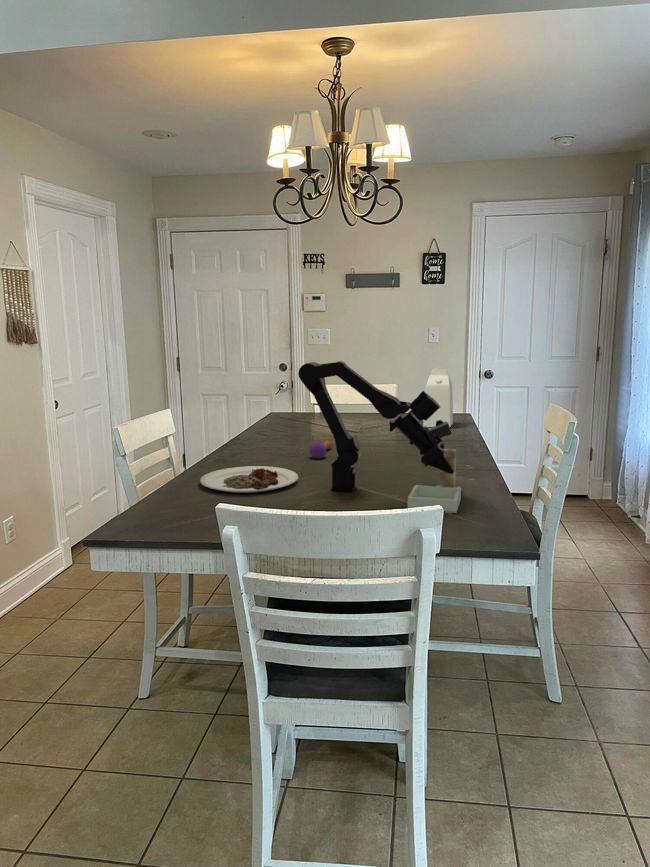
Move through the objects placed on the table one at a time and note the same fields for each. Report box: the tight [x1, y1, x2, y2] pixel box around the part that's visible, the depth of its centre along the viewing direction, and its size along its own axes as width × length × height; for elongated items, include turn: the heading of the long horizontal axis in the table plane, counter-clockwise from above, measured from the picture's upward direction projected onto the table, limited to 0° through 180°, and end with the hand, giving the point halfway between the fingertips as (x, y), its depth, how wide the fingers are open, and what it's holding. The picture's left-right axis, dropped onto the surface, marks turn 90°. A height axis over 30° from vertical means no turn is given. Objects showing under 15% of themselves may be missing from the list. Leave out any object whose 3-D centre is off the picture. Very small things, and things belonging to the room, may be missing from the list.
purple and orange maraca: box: [309, 440, 333, 460], centre depth 241 cm, size 6×6×20 cm
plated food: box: [199, 465, 299, 494], centre depth 201 cm, size 30×30×3 cm
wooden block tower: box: [436, 448, 462, 489], centre depth 186 cm, size 7×7×12 cm
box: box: [407, 484, 462, 514], centre depth 175 cm, size 13×13×4 cm
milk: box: [422, 368, 454, 428], centre depth 294 cm, size 12×12×26 cm
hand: (452, 470), depth 186 cm, fingers open, 5 cm apart
